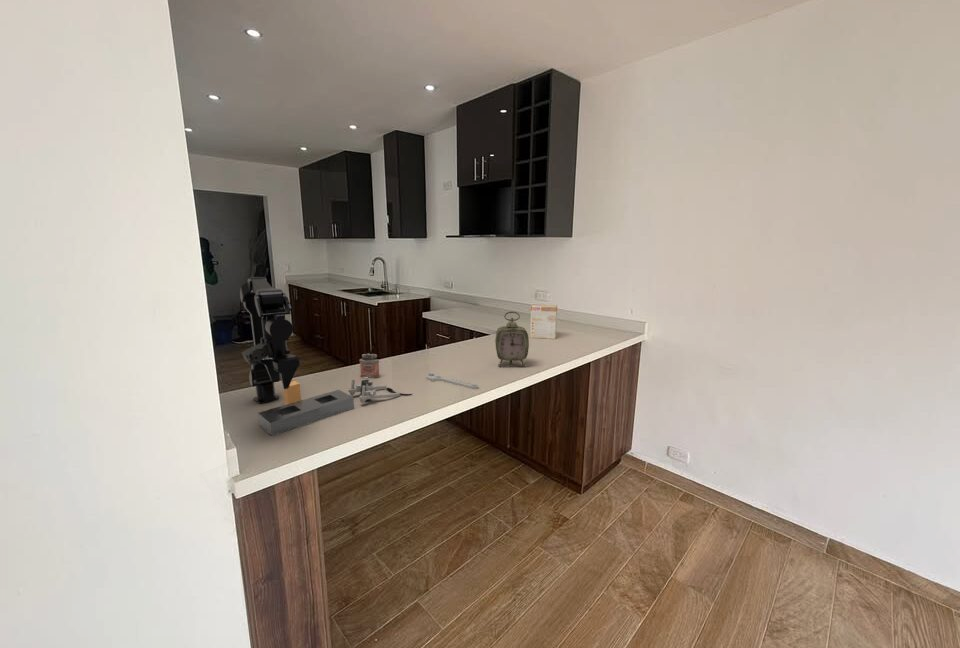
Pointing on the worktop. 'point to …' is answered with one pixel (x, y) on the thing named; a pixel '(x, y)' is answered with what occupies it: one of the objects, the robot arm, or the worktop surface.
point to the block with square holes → (304, 411)
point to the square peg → (292, 393)
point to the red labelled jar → (369, 366)
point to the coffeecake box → (543, 321)
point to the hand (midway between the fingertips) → (279, 384)
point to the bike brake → (367, 391)
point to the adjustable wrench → (450, 381)
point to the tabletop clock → (512, 342)
